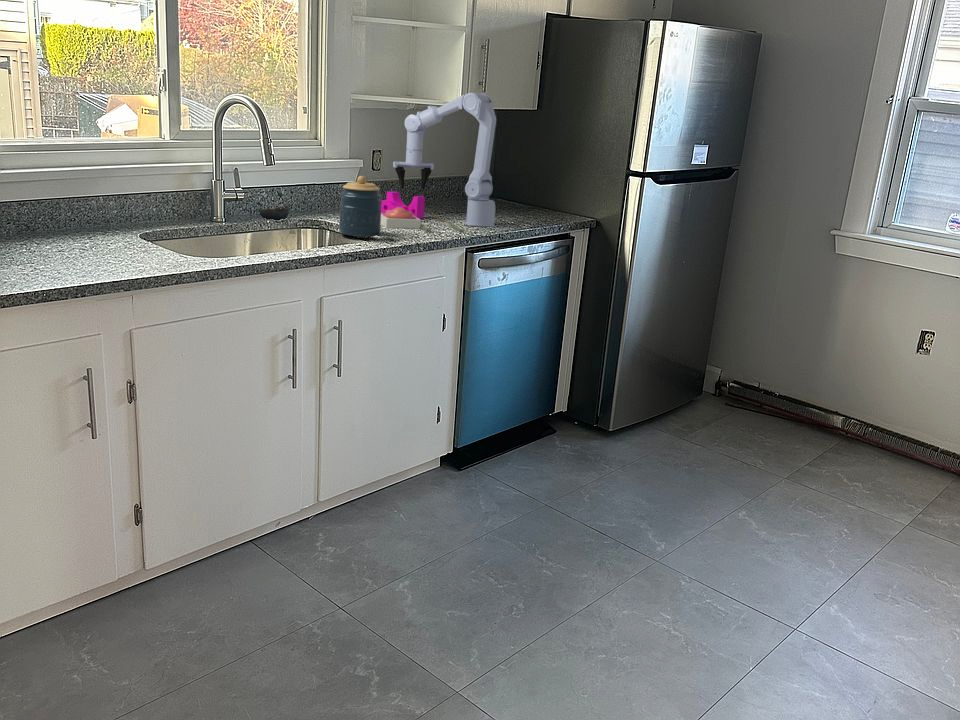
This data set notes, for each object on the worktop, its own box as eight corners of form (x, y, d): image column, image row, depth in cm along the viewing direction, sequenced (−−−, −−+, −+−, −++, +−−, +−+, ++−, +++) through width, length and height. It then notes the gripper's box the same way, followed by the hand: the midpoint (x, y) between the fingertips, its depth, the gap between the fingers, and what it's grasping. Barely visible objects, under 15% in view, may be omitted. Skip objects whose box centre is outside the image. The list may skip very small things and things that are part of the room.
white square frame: (410, 223, 302) (411, 214, 302) (420, 228, 292) (420, 219, 291) (377, 222, 298) (378, 213, 297) (386, 227, 288) (386, 218, 287)
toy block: (381, 213, 315) (381, 192, 313) (393, 212, 320) (394, 191, 318) (411, 219, 307) (412, 197, 304) (423, 218, 311) (424, 196, 309)
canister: (345, 237, 265) (347, 177, 260) (333, 230, 276) (335, 172, 271) (386, 237, 270) (389, 179, 265) (372, 230, 281) (375, 174, 276)
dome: (408, 223, 301) (409, 205, 299) (415, 227, 293) (416, 209, 291) (382, 222, 298) (383, 205, 296) (389, 227, 290) (390, 208, 288)
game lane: (433, 217, 321) (433, 214, 321) (463, 232, 291) (464, 230, 291) (398, 216, 317) (398, 213, 317) (426, 231, 287) (426, 229, 286)
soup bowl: (298, 221, 304) (299, 200, 302) (292, 228, 289) (292, 205, 287) (255, 219, 303) (255, 197, 301) (246, 225, 288) (246, 202, 286)
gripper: (430, 150, 318) (428, 188, 322) (391, 148, 313) (389, 186, 317) (436, 151, 312) (434, 190, 315) (396, 149, 306) (394, 189, 310)
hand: (412, 188), depth 316 cm, fingers open, 7 cm apart
